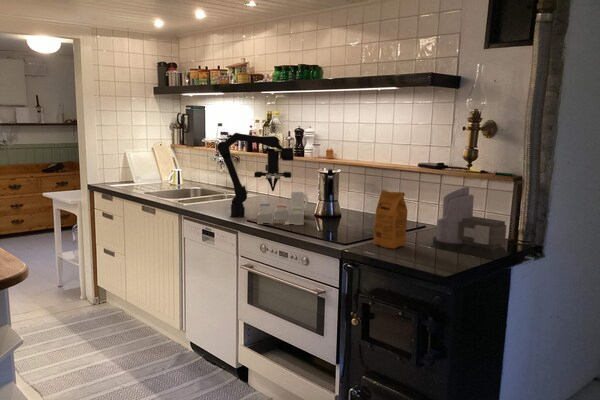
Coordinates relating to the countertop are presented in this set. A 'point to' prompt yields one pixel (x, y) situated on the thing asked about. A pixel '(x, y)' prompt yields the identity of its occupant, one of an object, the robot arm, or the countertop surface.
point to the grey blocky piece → (468, 228)
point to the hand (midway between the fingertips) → (272, 191)
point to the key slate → (265, 208)
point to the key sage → (296, 210)
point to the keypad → (281, 217)
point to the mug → (298, 200)
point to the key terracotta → (281, 207)
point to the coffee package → (390, 220)
